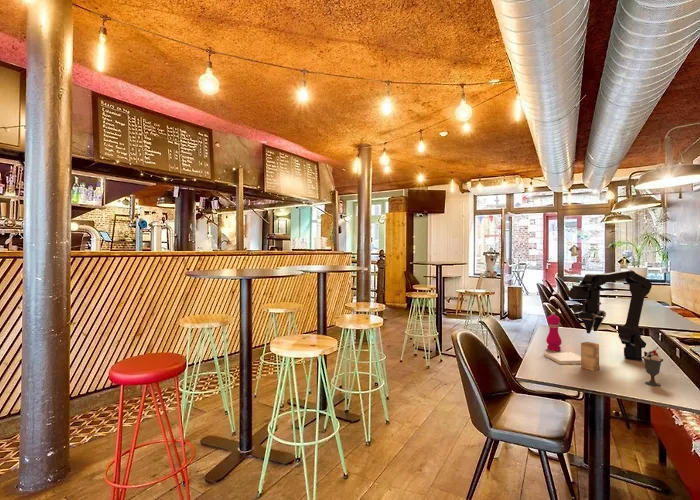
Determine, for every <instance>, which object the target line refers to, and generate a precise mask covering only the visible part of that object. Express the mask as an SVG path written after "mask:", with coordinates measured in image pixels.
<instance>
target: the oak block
mask: <svg viewBox="0 0 700 500" xmlns="http://www.w3.org/2000/svg"><path fill="white" fill-rule="evenodd" d="M580 356H581V364H580V365H581V366H580V367H581V368H583V369H587V370H590V371H595V370H599V369H600V344H599V343H595V342H591V341H584V342H580Z"/></svg>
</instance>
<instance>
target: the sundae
mask: <svg viewBox="0 0 700 500" xmlns="http://www.w3.org/2000/svg"><path fill="white" fill-rule="evenodd" d="M658 349H659V347H658V346H657V347H656V348H655V349H653V350H651V351H648V352H647V351H643V353H644V354H643V355H644V356H643V355H642V360H643V363H644V367H645V371H646V373H647V374H648V375H650V379H649V381H645V382H644V384H645V385H647V386H652V387H657V386H658V387H661V386H662V385H661V384H660V383H658V382H656V379H655V377H656V376H657V375H659V373H660V371H661V365H662V362H664V358H661V356H660V355H659V353H658V352H657V350H658Z"/></svg>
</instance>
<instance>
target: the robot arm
mask: <svg viewBox="0 0 700 500" xmlns="http://www.w3.org/2000/svg"><path fill="white" fill-rule="evenodd" d="M620 280H621V281H622V280H624V281H625V283H626V284H627V285H628V286H629V288H628V289H629V291H630V295H631V298H630V301H629V306H628V311H627V316H626V322H625V324H624V325H620V326H619V329H618V331H617V335H618V338H619V340H620V342H621V344H622V345H624V347H623V357H624V358H625V359H626V360H634V361H641V362H642V361H643V358H642V357H643V352H642V351H643V350H642V349H644V348H646V346H647V342H645V341H644V339H642V332H641V330H640V327H639V325H640V320H641V314H642V310H643V306H644V301H645V298H646V296H648V295H649V293H650V292H651V290H652V286H653V283H652V282H651V280H649V279H648V278H645V277H644V276H642V275H640V274H638V273H636V272H635V271H634V270H631V269H623V270H618V271H614V272H613V271H612V272H605V273H585V275H584V277H583V279H582V280H581V282H580V283H579V284H578V285H575V284H574V285H572V287H571V288H570V290H569V291H568V295H569V298H570V299H571V300H574V301H575V300H577V301H578V300H579V301H581V300H582V301H583V300H584V301H583V304H580V305H579V304H578V303H575V304H572V306H571V309H570V310H571V311H573V314H578V315H577V317H578V319H579V320H581V321H582V322H583V324H584V327H585V331H586V333H587V334H591V332H592V330H593V332H597V331H598V330H599V328H600V326H601V324H603V323H602V322H603V320H604V319H605V318H606V315H607V312H606V311H604V310H601V307H600V305H602V302H601V292H605V289H604V288H603V287H602V286H604V285H605V284H607V283H609V282H616V281H620Z"/></svg>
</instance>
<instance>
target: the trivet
mask: <svg viewBox="0 0 700 500" xmlns="http://www.w3.org/2000/svg"><path fill="white" fill-rule="evenodd" d="M543 356H544V357H545V358H548V359H550V360H551V361H553V362H556V363H557V364H559V365H581V355H579V354H577V353H574V352H571V351H570V352H544V353H543Z"/></svg>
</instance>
